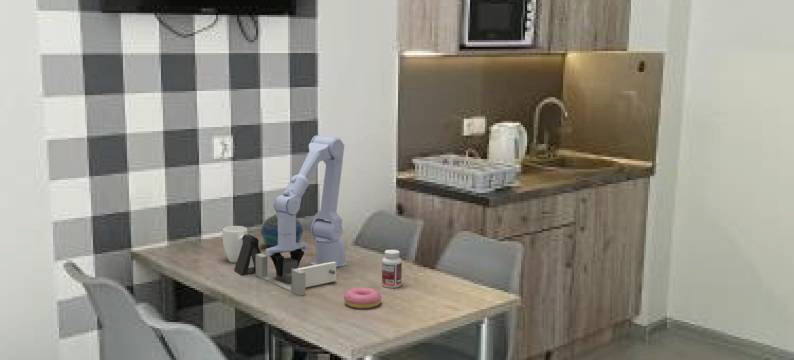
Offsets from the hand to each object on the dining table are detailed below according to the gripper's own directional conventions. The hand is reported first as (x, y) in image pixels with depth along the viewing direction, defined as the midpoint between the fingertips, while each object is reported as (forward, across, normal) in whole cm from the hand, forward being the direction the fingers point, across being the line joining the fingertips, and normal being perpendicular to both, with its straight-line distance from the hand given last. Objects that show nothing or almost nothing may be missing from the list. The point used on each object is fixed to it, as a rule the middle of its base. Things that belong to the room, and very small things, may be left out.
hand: (286, 273), depth 258 cm
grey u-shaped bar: (+1, +6, +4) cm, 7 cm away
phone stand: (+2, +6, -14) cm, 15 cm away
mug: (+2, +4, -26) cm, 26 cm away
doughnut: (+2, -4, +34) cm, 35 cm away
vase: (+2, -20, -34) cm, 40 cm away
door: (+1, -3, +13) cm, 13 cm away
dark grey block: (+1, 0, +1) cm, 2 cm away
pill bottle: (+2, -22, +26) cm, 34 cm away
